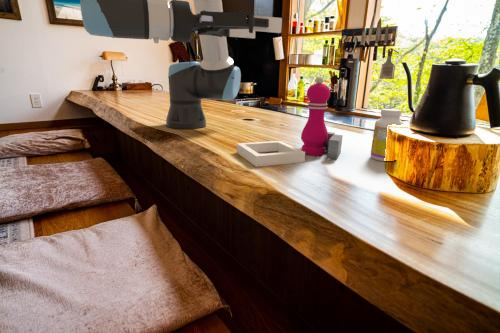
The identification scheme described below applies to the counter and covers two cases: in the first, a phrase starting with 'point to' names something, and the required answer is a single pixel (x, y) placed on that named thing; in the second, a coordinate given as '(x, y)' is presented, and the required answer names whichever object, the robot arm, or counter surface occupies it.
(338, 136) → the corner bracket
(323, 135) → the pepper mill
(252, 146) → the socket
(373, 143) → the supplement bottle
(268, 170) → the counter surface
